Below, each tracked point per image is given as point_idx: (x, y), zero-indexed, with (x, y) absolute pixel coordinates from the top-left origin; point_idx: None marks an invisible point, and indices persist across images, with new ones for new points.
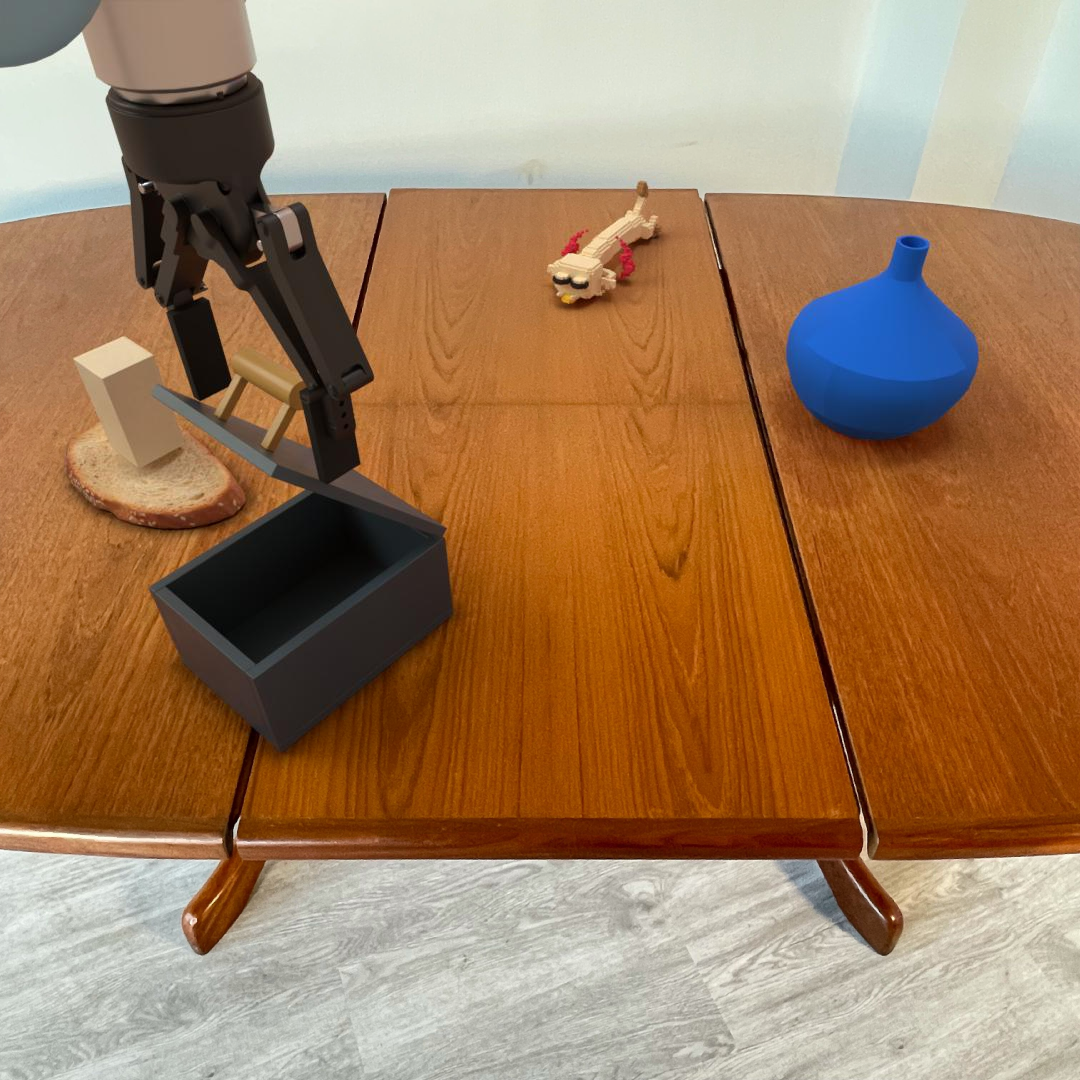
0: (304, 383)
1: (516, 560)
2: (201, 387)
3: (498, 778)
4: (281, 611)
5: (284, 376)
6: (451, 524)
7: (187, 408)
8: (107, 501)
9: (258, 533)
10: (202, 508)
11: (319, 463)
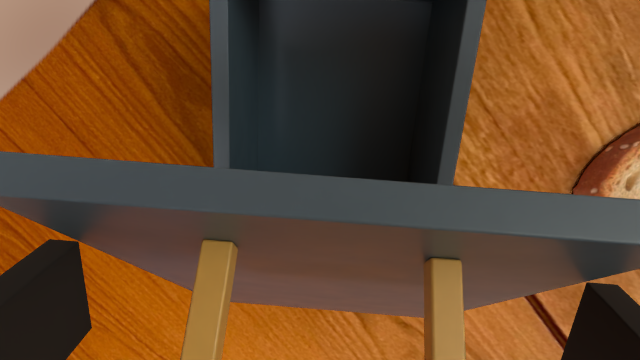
0: None
1: (250, 308)
2: (604, 320)
3: (66, 98)
4: (395, 115)
5: None
6: (339, 311)
7: (489, 220)
8: None
9: (437, 159)
10: (609, 171)
11: (20, 273)
